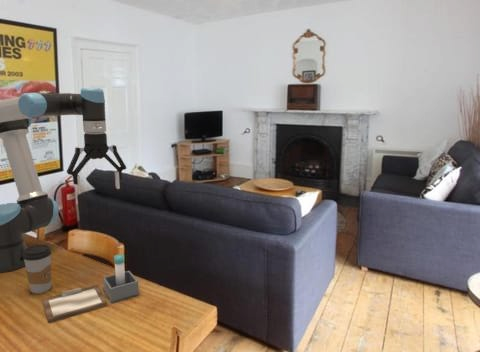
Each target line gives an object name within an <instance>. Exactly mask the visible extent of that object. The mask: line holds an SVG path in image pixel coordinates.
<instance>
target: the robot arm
mask: <svg viewBox="0 0 480 352" xmlns="http://www.w3.org/2000/svg"><path fill="white" fill-rule="evenodd" d="M105 103H106V100H105V92H104V90H103V89H102V88H96V87H95V88H93V87H83V88H81V89H80V92H79V93H71V92H64V93H63V92H62V93H61V92H60V93H57V92H56V93H55V92H53V93H45V92H25V93H22V94H21V95H20V96H17V97H12V98H11V97H10V98H6V99H1V100H0V139H1V140H2V143H3V146H4V147H3V148H4V149H5V153H6V157H7V160H8V162H9V163H8V164H9V166H10V169H11V173H12V176H13V180H14V183H15V186H16V189H17V192H18V198H17V199H16V202H8V203H1V204H0V273H7V272H11V271H15V270H19V269H21V268H24V267H26V266H25V261H24V259H23V253H24V250H25V249H26V248H28V247H27V245H26V242H25V238H24V235H25V234H27V233H30V232H33V231H36V230H39V229H42V228H47V227H48V226H50V225H52V224H54V223H55V222H56V221H57V218H58V217H59V206H58V203H57V201H56V200H55V199H54V198H53V197H50V196H49V195H48V192H46V191H44V190H43V188H42V185H41V182H40V179H39V174H38V172H37V168H36V166H35V165H36V164H35V161H34V159H33V154H32V151H31V148H30V145H29V142H28V138H27V134H28V133H29V131H30V130H29V128H30V126H31V125H32V119H33V118H40V117H50V116H51V117H52V116H53V117H55V116H82V126H83V127H82V129H83V132H84V133H83V140H84V144H83V145H84V147H79V146H76V147H75V148H74V154H73V156H72V159H71V161H70V164H69V166H68V168H67V170H66V173H67V175H69V176H72V181H73V185H75V186H76V191H77V194H78V195H81V194H82V190H81V189H82V187H81V176H80V173H81V171H82V170H83V169H84V167H85V166H86V165H87V163H88V162H89V161H90V160H97V159H98V160H102V159H105V160H106V161H108V162H109V164H111V166H113V168H114V169H115V170H114V179H115V180H114V181H115V183H114V184H115V188H116V189H117V190H120V189H121V187H120V181H121V180H122V178H123V176H122V175H123V173H122V172H123V171H124V170H127V165H126V163H124V160H123V159H122V157H121V156H120V153H119V152H118V148H117V146H116V145H115V144H111V145H109V146H108V138H107V137H108V136H107V135H108V134H107V133H106V132H107V123H106V121H107V119H106V104H105ZM109 151H110V152H111V153H112V154H113V155H114V157H115V158H116V161H117V163H118V164H119V165H118V164H117V163H116V162H115V161H114V160H113V159H112V158H111V157H110V156H109V155H108V154H107V153H108V152H109ZM83 152H84V153H85V155H84V157H83V158H82V160H81V161H79V163H78V160H79V159H80V158H79V157H80V155H81V154H82V153H83ZM77 163H78V165H77ZM76 165H77V166H76Z"/></svg>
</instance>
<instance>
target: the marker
mask: <svg viewBox="0 0 480 352" xmlns="http://www.w3.org/2000/svg"><path fill="white" fill-rule="evenodd" d="M113 262H114V273H115V276H116V287H117V286H120V285H124V284H125V272H126V271H125V270H126V269H125V255H124V254H122V253H121V254H115V255H114V256H113Z"/></svg>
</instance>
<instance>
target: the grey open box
mask: <svg viewBox="0 0 480 352" xmlns="http://www.w3.org/2000/svg"><path fill="white" fill-rule="evenodd" d="M102 281H103V283H102V285H103V292H104V293H105V295H106V297H107V299H108V300H109V302H110V303H111V304H113V303H116V302H119V301H122V300H126V299H129V298H133V297H137V296H139V295H140V293H139V290H140V289H139V281H138V280H137V278H136V277H135V276H134V275H133V273H132V271H130V270H126V271H125V284H124V285H120V286H117V287H116V276H115V274H111V275H107V276H103V277H102Z"/></svg>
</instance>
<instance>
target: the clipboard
mask: <svg viewBox="0 0 480 352" xmlns="http://www.w3.org/2000/svg"><path fill="white" fill-rule="evenodd" d="M42 305H43V308H44V311H45V316H46V318H47V322H48V324H51V323H53V322H56V321H60V320H64V319H66V318H67V319H68V318H70V317H75V316H76V315H80V314H84V313H87V312H91V311H94V310H97V309H101V308H104V307H108V301H107V300H106V298H105V296H104V294H103V292H102V291H101V289H100V287H99V286H98V284H96V285H92V286H88V287H85V288H84V287H83V288H81V287H77V288H73V289H69V290H66V291H62V292H60V294H57V295H54V296H50V297H45V298H42Z"/></svg>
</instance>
